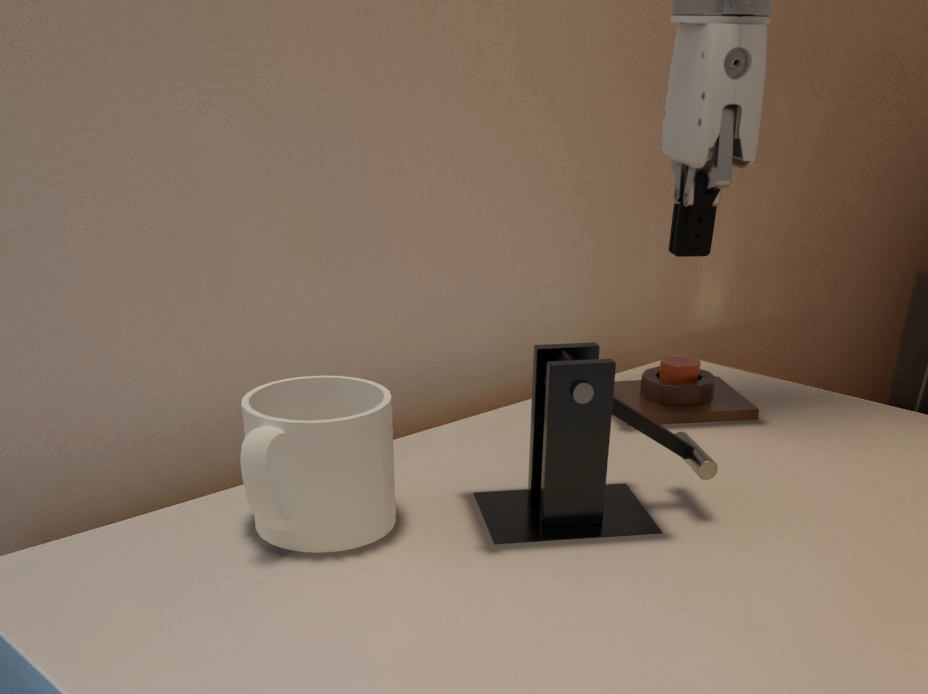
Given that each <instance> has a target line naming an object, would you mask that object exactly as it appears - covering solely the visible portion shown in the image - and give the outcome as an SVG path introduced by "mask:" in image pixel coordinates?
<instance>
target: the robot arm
mask: <svg viewBox="0 0 928 694" xmlns="http://www.w3.org/2000/svg"><path fill="white" fill-rule="evenodd" d="M773 4H774V0H672V1H671V9H670V11H671V12H670V14H671V15H670V20H669V24H678V25H677V30H676V34H675V40H674V44H673V51H672V57H671V63H670V68H669V75H668V79H667V80H668V81H667V88H666V95H665V101H664V102H665V103H664V111H663V118H662V119H663V120H662V129H661V149H662V150H661V151H662V152H663V153H664V154H665V156H666V157H667V158H669V160H671V166H670V167H671V171H672V172H673V174H674V187H673V202H674V203H673V207H672V208H673V210H672V218H671V226H670V233H669V242H668V252H669V253H670V254H672V255H674V256H675V257H677V258H684V257H685V258H686V257H687V258H691V257H708V256H709V255H710V254H711V252H712V251H711V249H712V245H713V236H714V229H715V223H716V216H717V209H718V206H719V204H720V200H721V197H722V191H723V189H725V188H728V187H730V185H731V183H732V175H733V167H734V168H735V167H736V168H739V169H748V168H750V167H751V165H752V164H753V163H754V162H755V160H756V157H757V151H758V146H759V145H758V143H759V137H760V136H759V135H760V127H761V122H762V121H761V119H762V111H763V102H764V94H765V84H766V70H767V54H768V53H767V48H768V45H767V44H768V25H770V23H771V18H772V17H771V16H772V12H773V11H772V10H773Z"/></svg>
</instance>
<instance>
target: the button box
mask: <svg viewBox="0 0 928 694" xmlns="http://www.w3.org/2000/svg"><path fill="white" fill-rule="evenodd" d="M659 370H660V365H657V366H653V367H649V368H647V369H645V370H644V371H643V372H642V374H641V378H640V379H636V380H635V379H633V380H615V382H614V394H613V396H615V397H616V398H618V399H619V400H621V401H623V402H624V403H626V404H627V405H629V406H631V407H632V408H634V409H635V410H637V411H639V412H640V413H642V414H643V415H645V416H647V417H648V418H650V419H651V420H653V421H655V422H656V423H658V424H659V425H661V426H664V425H665V426H666V425H682V424H701V423H717V422H718V423H720V422H721V423H722V422H738V421H739V422H741V421H755V420H756V421H758V420H759V415H760V408H759V407H758V406H756V405H755V404H754V403H753V402H751V401H750V400H749V399H748V398H746V397H745V396H744V395H743V394H741V393H740V392H739V391H738V390H736V389H735V388H734V387H733V386H731V385H730V384H729V383H728V382H726V381H725V380H724V379H723V378H721V377H720V376H718V375H717V376H715V375H714V374H713V373H712V372H711V371H709V370H706V369H703V368H700V372H699V380H698V381H696V382H691V383H676V382H668V381H664V380H661V379H659ZM625 424H626V425H627V426H628V427H631V426H630V425H628V424H627V423H625Z"/></svg>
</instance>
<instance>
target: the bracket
mask: <svg viewBox="0 0 928 694" xmlns="http://www.w3.org/2000/svg"><path fill="white" fill-rule="evenodd" d="M600 348H601V347H600V345H599V344H598V343H597V342H596V341H593V342H569V343H545V344H544V343H543V344H534V345H533V360H532V381H531V382H532V383H531V385H532V386H531V408H530V409H531V411H530V430H529V432H530V433H529V454H528V455H529V457H528V461H529V462H528V479H527V480H528V481H527V483H528V484H527V488H525V489H509V490H507V489H506V490H492V491H476V492H475V491H474V492H473V493H472V494H473V496H474V499H475V501H476V503H477V506H478V509H479V511H480V514H481V516H482V518H483V521H484V523H485V526H486V528H487V531H488V533H489V536H490V538H491V540H492V543H493V545H495V546H497V545H510V544H524V543H526V544H527V543H541V542H542V543H543V542H554V541H555V542H556V541H568V540H569V541H570V540H572V541H573V540H584V539H603V538H614V537H615V538H617V537H629V536H631V537H633V536H646V535H647V536H648V535H662V534H664V532H663V531H662V529H661V528H660V527H659V525H658V524H657V522H656V521H655V519H653V517H652V516H651V514H650V513H649V512H648V511H647V510H646V508H645V506H644V505H643V504H642V503H641V501H640V500H639V499H638V498H637V496H636V495H635V493H634V492H633V491H632V489H631V488H630V486H629V485H628V484H627V483H610V484H609V483H608V484H607V475H608V473H607V472H608V464H609V452H610V451H609V450H610V440H611V429H612V428H611V427H612V417H613V415H612V405H613V394H614V382H615V381H616V380H615V379H616V370H617V369H616V368H617V362H616V361H615V360H614V359H613V358H600ZM562 350H563V351H565V352H566V353H568V354H570V355H571V356H573V357H574V358H576V359H577V360H571V361H556V359H557V358H558V356H559V355H560V353H561V352H562ZM545 376H546V384H545V383H544V381H543V379H544V377H545Z"/></svg>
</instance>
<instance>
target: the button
mask: <svg viewBox="0 0 928 694" xmlns="http://www.w3.org/2000/svg"><path fill="white" fill-rule="evenodd" d="M701 365H702V362H701V361H700V360H699V359H698V358H695V357H692V356H686V355H669V356H664V357H662V358H661V359H660V363H659V366H660V370H659V379H661V380H664V381H668V382H676V383H691V382H696V381H698V380H699V372H700V369H701Z"/></svg>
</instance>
